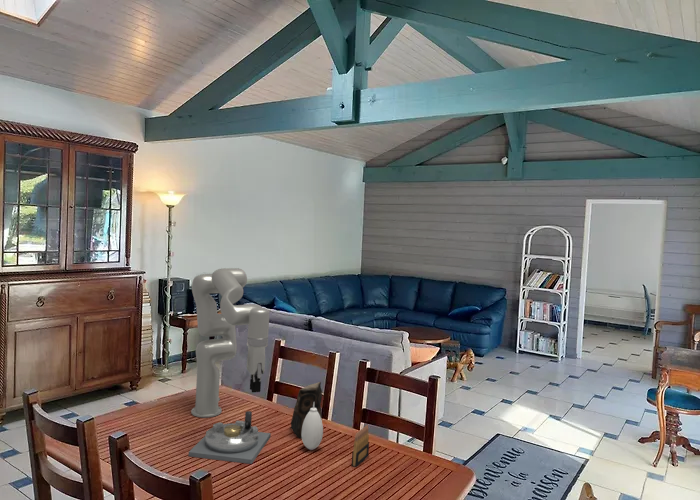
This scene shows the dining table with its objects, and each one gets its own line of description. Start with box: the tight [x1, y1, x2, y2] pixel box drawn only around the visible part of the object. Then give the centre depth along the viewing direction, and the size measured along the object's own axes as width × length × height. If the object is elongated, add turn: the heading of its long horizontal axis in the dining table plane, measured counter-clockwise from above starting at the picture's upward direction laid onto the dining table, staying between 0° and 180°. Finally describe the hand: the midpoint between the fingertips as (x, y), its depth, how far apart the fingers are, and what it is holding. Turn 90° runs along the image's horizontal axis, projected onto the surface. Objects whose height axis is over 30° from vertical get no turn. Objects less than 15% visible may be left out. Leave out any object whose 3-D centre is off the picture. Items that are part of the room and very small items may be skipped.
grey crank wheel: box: [205, 410, 259, 453], centre depth 186 cm, size 19×19×9 cm
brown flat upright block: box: [351, 424, 370, 468], centre depth 180 cm, size 11×2×12 cm, turn 154°
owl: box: [290, 381, 323, 440], centre depth 201 cm, size 13×13×20 cm
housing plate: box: [187, 431, 272, 465], centre depth 186 cm, size 23×23×2 cm
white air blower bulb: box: [301, 403, 324, 451], centre depth 188 cm, size 8×8×18 cm
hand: (255, 390), depth 186 cm, fingers closed
